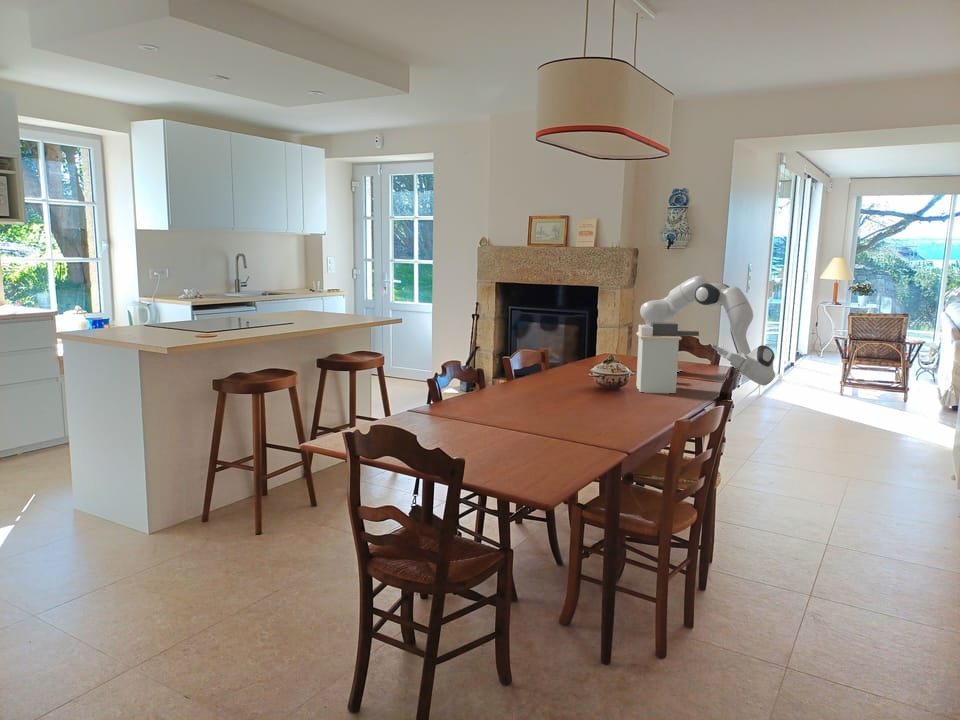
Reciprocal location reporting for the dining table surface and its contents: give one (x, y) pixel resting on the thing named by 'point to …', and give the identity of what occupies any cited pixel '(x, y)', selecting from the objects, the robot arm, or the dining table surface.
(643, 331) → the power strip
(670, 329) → the dark grey stepped bar
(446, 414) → the dining table surface
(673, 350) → the cabinet
